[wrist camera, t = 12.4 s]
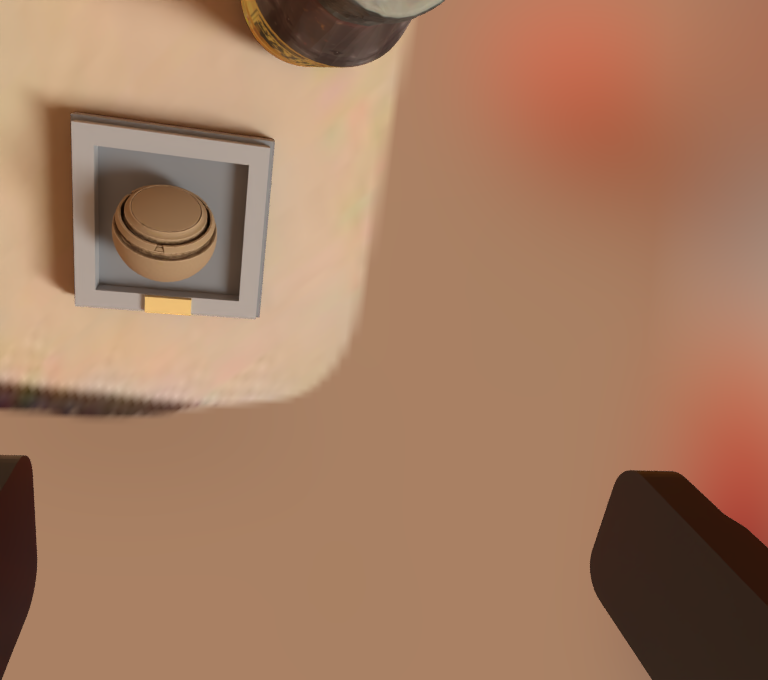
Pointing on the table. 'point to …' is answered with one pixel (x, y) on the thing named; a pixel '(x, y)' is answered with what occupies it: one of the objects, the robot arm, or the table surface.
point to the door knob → (164, 232)
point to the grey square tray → (181, 169)
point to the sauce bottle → (331, 28)
